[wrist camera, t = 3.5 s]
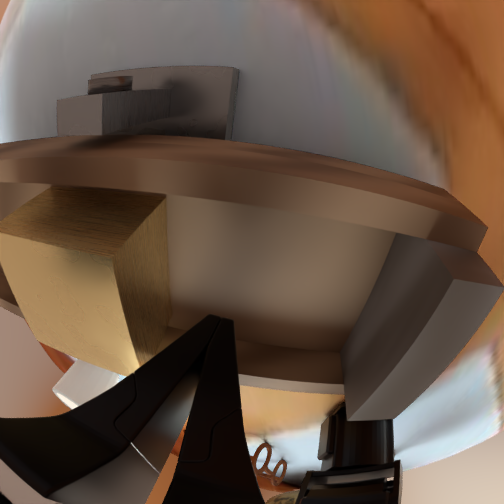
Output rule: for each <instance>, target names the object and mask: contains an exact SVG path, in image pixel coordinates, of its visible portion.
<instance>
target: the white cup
mask: <svg viewBox="0 0 504 504" xmlns="http://www.w3.org/2000/svg"><path fill="white" fill-rule="evenodd" d="M118 381H119V375H118V373H115V372H112V371H109V370H106V369H103V368H101V367H98V366H95V365H93V364H90V363H87V362H85V361H82V360H80V359H78V360H77V361H76V362H75V363H74V364H73V365H72V366H71V367H70V369H69V370H68V371H67V372H66V373H65V374H64V376H63V377H62V378H61V379H60V380H59V381H58V383H57V384H56V385H55V386H54V387H53V389H52V390H53V392H54V393H55V395H56V396H57V397H58V398H59V399H60V400H61V401H62V402H63V403H64V404H65V405H67V406H68V407H69V408H70V409H71V410H72V409H74V408H76V407H78V406H80V405H81V404H83V403H85V402H87V401H89V400H91V399H93V398H94V397H96V396H98V395H100V394H101V393H103V392H105V391H106V390H108V389H110V388H111V387H113V386H114V385H116V384H117V383H118Z"/></svg>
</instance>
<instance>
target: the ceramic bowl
mask: <svg viewBox="0 0 504 504" xmlns="http://www.w3.org/2000/svg"><path fill="white" fill-rule="evenodd" d="M301 486H302V485H301ZM299 491H300V490H298V491H291V492H287V493H283V494H279V495H276V496H274V497H272V498H270V499H269V500H268V501H267V502H266V503H265V504H295V502H296V499H297V497H298V494H299Z"/></svg>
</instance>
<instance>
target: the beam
mask: <svg viewBox="0 0 504 504" xmlns="http://www.w3.org/2000/svg"><path fill="white" fill-rule="evenodd" d="M50 187H63V188H77V189H89V190H101V191H112V192H122V193H132V194H142V195H151V196H160V197H166V199H167V240H168V260H169V276H170V290H171V302H172V312H173V315H172V317H171V319H170V322H169V324H168V326H167V329H166V331H165V334H164V336H163V338H162V341H161V343H160V346H159V348H158V350H157V353H156V354H158V353H159V352H160V351H162V350H163V349H164V348H166V347H167V346H168V345H169V344H171V343H172V342H173V341H175V340H176V339H177V338H179V337H180V336H181V335H182V334H184V333H185V332H186V331H188V330H189V329H190V328H191V327H193V326H194V325H195V324H197V323H198V322H199V321H200V320H202V319H203V318H204V317H206V316H207V315H208V314H214V315H218V316H221V318H222V317H225V318H229V319H233V320H234V323H235V336H236V349H237V362H238V374H239V385H244V386H251V387H258V388H266V389H274V390H283V391H293V392H305V393H320V394H343V395H345V403H346V414H347V421H363V420H383V419H395V418H396V417H397V416H398V415H399V414H400V413H401V412H403V411H404V410H405V409H406V408H407V407H408V406H409V405H410V404H411V403H412V402H413V401H415V400H416V399H417V398H418V397H419V396H420V395H421V394H422V393H423V392H424V391H425V390H426V389H427V388H428V387H429V386H430V385H431V384H432V383H433V382H434V381H435V380H436V378H437V377H438V376H439V375H440V374H441V373H442V372H443V371H444V370H445V369H446V368H447V366H448V365H449V364H450V363H451V362H452V361H453V360H454V358H455V357H456V356H457V355H458V354H459V352H460V351H461V350H462V349H463V348H464V346H465V345H466V344H467V342H468V341H469V340H470V339H471V337H472V336H473V335H474V333H475V332H476V331H477V329H478V328H479V327H480V325H481V324H482V322H483V321H484V320H485V318H486V317H487V315H488V314H489V312H490V311H491V309H492V308H493V306H494V305H495V303H496V302H497V300H498V298H499V297H500V295H501V294H502V292H503V290H504V286H503V284H502V283H501V282H500V280H499V279H498V278H497V277H496V275H495V274H494V273H493V271H492V270H491V269H490V268H489V266H488V265H487V264H486V263H485V261H484V260H483V259H482V258H481V257H480V255H479V254H478V253H477V251H478V249H479V246H480V244H481V242H482V240H483V238H484V236H485V233H486V231H487V229H488V227H487V226H486V225H485V224H484V223H483V222H482V221H481V220H480V219H479V218H478V217H476V216H475V215H474V214H473V213H472V212H471V211H470V210H469V209H467V208H466V207H465V206H464V205H463V204H462V203H460V202H459V201H458V200H457V199H456V198H454V197H453V196H452V195H451V194H449V193H448V192H447V191H446V190H444V189H442V188H439V187H436V186H433V185H430V184H427V183H424V182H421V181H418V180H415V179H412V178H408V177H405V176H402V175H399V174H395V173H392V172H388V171H385V170H381V169H377V168H374V167H370V166H366V165H362V164H358V163H354V162H350V161H345V160H341V159H337V158H332V157H327V156H323V155H318V154H313V153H308V152H302V151H297V150H291V149H286V148H280V147H273V146H267V145H260V144H253V143H245V142H237V141H229V140H219V139H209V138H197V137H184V136H166V135H131V134H113V135H80V136H64V137H51V138H41V139H31V140H23V141H16V142H9V143H2V144H0V221H1V220H3V219H4V218H5V217H7V216H8V215H9V214H11V213H12V212H14V211H15V210H16V209H18V208H19V207H21V206H22V205H24V204H25V203H26V202H28V201H29V200H31V199H32V198H34V197H35V196H37V195H38V194H40V193H42V192H43V191H45V190H46V189H48V188H50ZM0 306H1V307H3V308H4V309H6V310H8V311H10V312H12V313H14V314H16V315H18V316H20V317H22V318H24V319H25V317H24V315H23V313H22V311H21V309H20V307H19V305H18V303H17V301H16V299H15V296H14V294H13V292H12V290H11V288H10V285H9V283H8V281H7V278H6V276H5V273H4V271H3V268H2V266H1V263H0Z"/></svg>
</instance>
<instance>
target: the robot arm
mask: <svg viewBox="0 0 504 504" xmlns="http://www.w3.org/2000/svg"><path fill="white" fill-rule="evenodd" d="M188 416H189V418H188ZM187 418H188V422H187V426H186V430H185V434H184V438H183V442H182V446H181V450H180V453H179V458H178V463H177V466H176V469H175V473H174V476H173V479H172V482H171V484H170V487H169V489H168V491H167V494H166V496H165V498H164V501H163V503H162V504H265V502H264V500H263V497H262V495H261V492H260V489H259V486H258V482H257V479H256V476H255V472H254V469H253V465H252V462H251V458H250V454H249V451H248V447H247V442H246V438H245V432H244V425H243V417H242V409H241V397H240V385H239V374H238V362H237V349H236V336H235V323H234V320H233V319H229V318H225V317H222V318H221V316H218V315H214V314H208V315H207V316H206V317H204V318H203V319H202V320H200V321H199V322H198V323H197V324H195V325H194V326H193V327H191V328H190V329H189V330H188V331H186V332H185V333H184V334H182V335H181V336H180V337H179V338H177V339H176V340H175V341H173V342H172V343H171V344H169V345H168V346H167V347H166V348H164V349H163V350H162V351H160V352H159V353H158V354H156V355H155V356H154V357H152V358H151V359H150V360H149V361H147V362H146V363H145V364H143V365H142V366H141V367H139V368H138V369H137V370H135V371H134V373H131V374H130V375H128V376H127V377H126V378H124V379H123V380H122V381H120V382H119V383H117V384H116V385H114V386H113V387H111V388H110V389H108V390H106V391H105V392H103V393H101V394H100V395H98V396H96V397H94V398H93V399H91V400H89V401H87V402H85V403H83V404H81V405H80V406H78V407H76V408H74V409H72V410H70V411H69V412H66V413H63V414H61V415H57V416H51V417H36V418H0V504H145V503H146V501H147V498H148V496H149V495H150V493H151V491H152V489H153V487H154V485H155V483H156V481H157V479H158V477H159V474H160V473H161V471H162V469H163V466H164V465H165V463H166V461H167V459H168V457H169V454H170V452H171V450H172V448H173V446H174V444H175V442H176V440H177V438H178V436H179V434H180V432H181V430H182V428H183V426H184V424H185V422H186V420H187ZM317 458H318V459H319V460H322V467H321V471H307V473H306V476H305V478H304V480H303V483H302V486H301V488H300V491H299V494H298V497H297V499H296V502H295V504H401V495H402V465H401V460H396V461H394V434H393V419H383V420H363V421H347V414H346V403H342V404H340V405H339V406H338V408H337V409H336V410H335V411H334V412H333V413H332V415H330V416H329V417H328V418H327V419H326V420H325V422H324V423H323V424H322V425H321V432H320V441H319V449H318V457H317ZM390 477H394V480H391V481H387V478H390Z"/></svg>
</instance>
